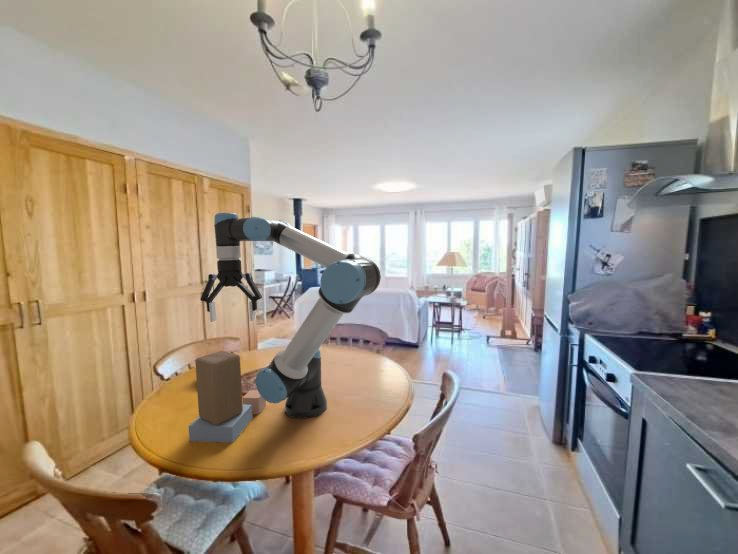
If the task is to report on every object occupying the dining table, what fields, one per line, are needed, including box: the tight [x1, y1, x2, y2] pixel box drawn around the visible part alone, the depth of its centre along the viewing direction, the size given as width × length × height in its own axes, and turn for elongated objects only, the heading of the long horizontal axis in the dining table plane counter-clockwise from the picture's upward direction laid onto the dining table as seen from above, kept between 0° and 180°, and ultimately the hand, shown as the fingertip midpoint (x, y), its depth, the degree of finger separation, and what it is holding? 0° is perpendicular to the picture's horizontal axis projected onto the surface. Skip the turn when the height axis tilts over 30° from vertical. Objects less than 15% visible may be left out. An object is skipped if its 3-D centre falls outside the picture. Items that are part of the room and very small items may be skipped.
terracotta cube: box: [242, 389, 267, 415], centre depth 119 cm, size 6×6×6 cm
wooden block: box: [195, 350, 243, 425], centre depth 105 cm, size 10×10×20 cm
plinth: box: [188, 403, 254, 444], centre depth 106 cm, size 14×14×5 cm
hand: (233, 320), depth 112 cm, fingers open, 13 cm apart
